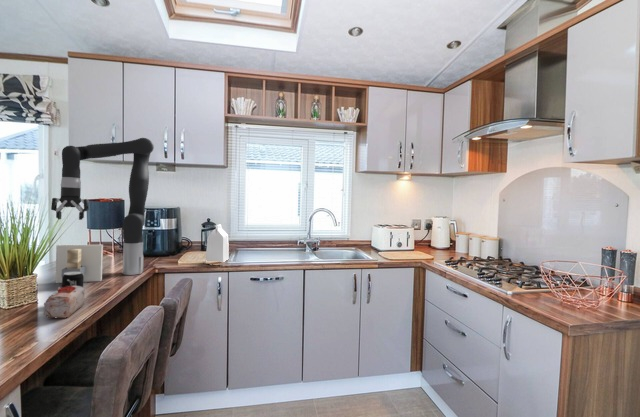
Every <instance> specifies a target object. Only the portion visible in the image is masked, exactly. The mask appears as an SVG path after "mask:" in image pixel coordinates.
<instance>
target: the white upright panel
mask: <svg viewBox="0 0 640 417" xmlns="http://www.w3.org/2000/svg"><path fill="white" fill-rule="evenodd" d="M55 249H56V250H55V251H56V252H55V257H56V258H55V282H54V283H55V284H60V283H61V284H62V277H63V276H64V273H66V272H71V271H82V274H83V275H84V281H83V283H85V282H88V283H91V282H101V281H103V257H104V256H103V254H104V252H103V251H104V244H57V245H56V248H55ZM70 249H81V268H79V269H67V250H70Z"/></svg>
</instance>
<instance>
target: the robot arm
mask: <svg viewBox="0 0 640 417" xmlns="http://www.w3.org/2000/svg"><path fill="white" fill-rule="evenodd" d="M154 148H155V145H154V142H153V141H152V140H151V139H149V138H146V137H140V138H137V139H133V140H129V141H122V142H120V141H119V142H109V143H108V142H107V143H106V142H105V143H94V144H92V143H91V144H88V145H85V146H74V145H66V146H64V147H63V148H62V151H61V162H62V163H61V164H62V168H61V179H60V197H59V198H58V197H53V198H52V199H51V207H50V209H51V210H52V211H55V212H56V214H55V215H56V219H57V220H62V211H63V209H65V208H75V209H77V210H78V211H79V213H78V220H80V221H82V220H83V219H84V218H85V212H88V211H89V210H90V208H89V199H87V198H85V199H84V198H83V199H82V198H81V193H82V192H81V190H82V189H81V188H82V185H81V183H82V182H81V181H82V180H81V166H80V165H81V161H84V160H91V159H101V158H102V159H103V158H110V157H116V156H120V155H130V154H132V155H133V163H132V166H131V171H130V175H129V183H128V195H129V197H128V198H129V208H128V209H129V210H128V214H127V215H126V216H125V217H124V218H123V222H122V238H123V245H122V246H123V250H122V253H123V254H122V274H123V275H125V276H130V275H131V276H133V275H141V274H142V273H143V272H144V235H143V226H144V225H145V223H146V222H145V212H146V211H145V210H146V209H145V208H146V201H147V197H148V196H147V195H148V190H149V182H150V172H149V171H150V170H149V162H150V156H151V153H152V152H153V151H154ZM59 202H60V203H61V204H60V205H58V203H59ZM80 203H82V204H83V207H82V205H81V204H80Z"/></svg>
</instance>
